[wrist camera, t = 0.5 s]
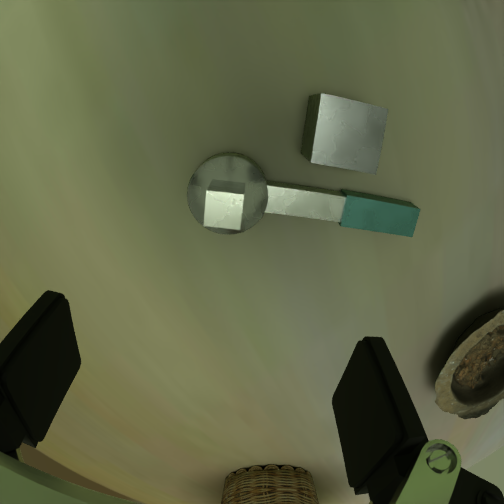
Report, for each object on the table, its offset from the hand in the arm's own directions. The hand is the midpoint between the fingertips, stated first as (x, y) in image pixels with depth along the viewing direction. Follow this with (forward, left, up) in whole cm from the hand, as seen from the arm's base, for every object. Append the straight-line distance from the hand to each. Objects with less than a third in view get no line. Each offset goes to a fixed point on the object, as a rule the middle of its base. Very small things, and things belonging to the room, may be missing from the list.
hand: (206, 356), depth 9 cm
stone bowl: (+22, +45, -27) cm, 57 cm away
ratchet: (+2, +8, -26) cm, 28 cm away
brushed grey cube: (-6, +9, -27) cm, 29 cm away
